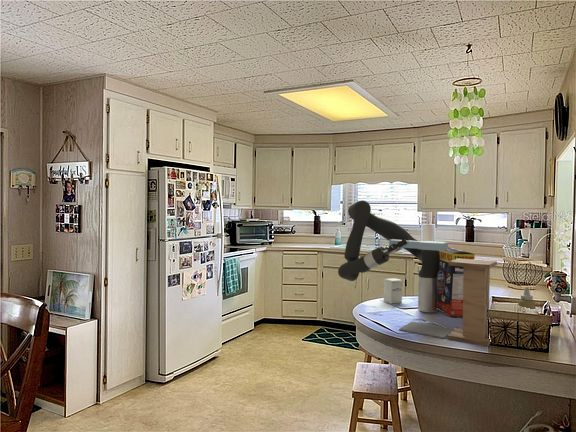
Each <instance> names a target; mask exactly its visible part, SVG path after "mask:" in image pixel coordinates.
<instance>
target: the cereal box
mask: <svg viewBox="0 0 576 432" xmlns="http://www.w3.org/2000/svg"><path fill="white" fill-rule="evenodd" d="M439 253H440V265H439V272H438V277H437V310H439V311H441V312H442V313H444V314H445V315H447V316H449V317H450V318H463V278H464V267H461V266H449V261H452V260H455V259H458V258H460V259H473V260H476V259H475V255H476V254H475V253H472V252H469V251H465V250H461V249H457V248H453V247H449V246H448V249H447V250H444V251H439Z"/></svg>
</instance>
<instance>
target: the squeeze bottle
mask: <svg viewBox="0 0 576 432" xmlns="http://www.w3.org/2000/svg"><path fill="white" fill-rule="evenodd" d="M523 291H524V292H523V293H522V294H521V295H520V299H518V301H517V306H518V305H519V306H522V307H526V308H530V309H536V308H537V306H536V301H534V296H533V295H532V294H531V291H530V288H529V287H528V286H525V287H524V290H523ZM536 310H537V309H536Z"/></svg>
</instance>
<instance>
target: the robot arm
mask: <svg viewBox="0 0 576 432" xmlns="http://www.w3.org/2000/svg"><path fill="white" fill-rule="evenodd" d="M347 214H348V216H349V218H351V220H353V225H352V228H351V231H350V233H349V235H348V238H347V242H346V244H345V248H344V249H345V250H344V255H343V258H344V259H345V261H346V262H345V263H343V264H341V265H339V268H338V269H337V273H338V276H339V277H340V278H341V279H344V280H346V281H350V282H354V281H356V280H357V279H358V277H359V275H360V274H364V273H366V272H369V271H370V270H372V269H374V268H375V269H376V268H377V267H379V266H381V265H382V264H383V265H384V264H386V263H388V262H389V261H390V257H389V256H393V255H394V254H396V253H397V252H399V251H400V250H402V249H404V250H405V251H407V252H408V253H410V254H411V255H413V256H414V257H415V258H416V259H417V260H419V261H420V262H421V268H420V270H419V271H418V278H417V279H418V287H417V288H418V291H417V292H418V293H417V294H418V297H417V298H418V300H417V310H418V311H420V312H424V313H436V312H438V309H437V277H438V272H439V265H440V253H439V251H437V250H422V249H416V248H401V247H402V246H404V245H406V244H407V241H406V240H409V241H419V240H418V239H416V238H414V237H413V236H412V235H411V234H410V233H409V232H408V230H406V229H405V228H403V227H402V226H401V225H399V224H397V223H396V222H395V221H391V220H390V219H386V218H383V217H379V216H376V215H375V214H374V213H372V207H371V205H370V203H369V202H368V201H366V200H363V199H362V200H357V201H356V202H354V203H352V204H350V206H349V207H348V209H347ZM366 227H367V228H369V229H370V230H372V231H373V232H374V233H376V234H378V235H380V236H381V237H382V238H384V239H385V240H387V241H388V242H389V240H402V241H400V242H398V243H395V244H392V245H390V246H389V245H388V246H385V247H384V246H381V245H380V246H378V247H376V248H374V249H373V250H370V251H369V252H367V253H366V254H364V255H362V256H361V257H360V252H361V249H362V248H361V247H362V241H363V237H364V233H365V230H366Z"/></svg>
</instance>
